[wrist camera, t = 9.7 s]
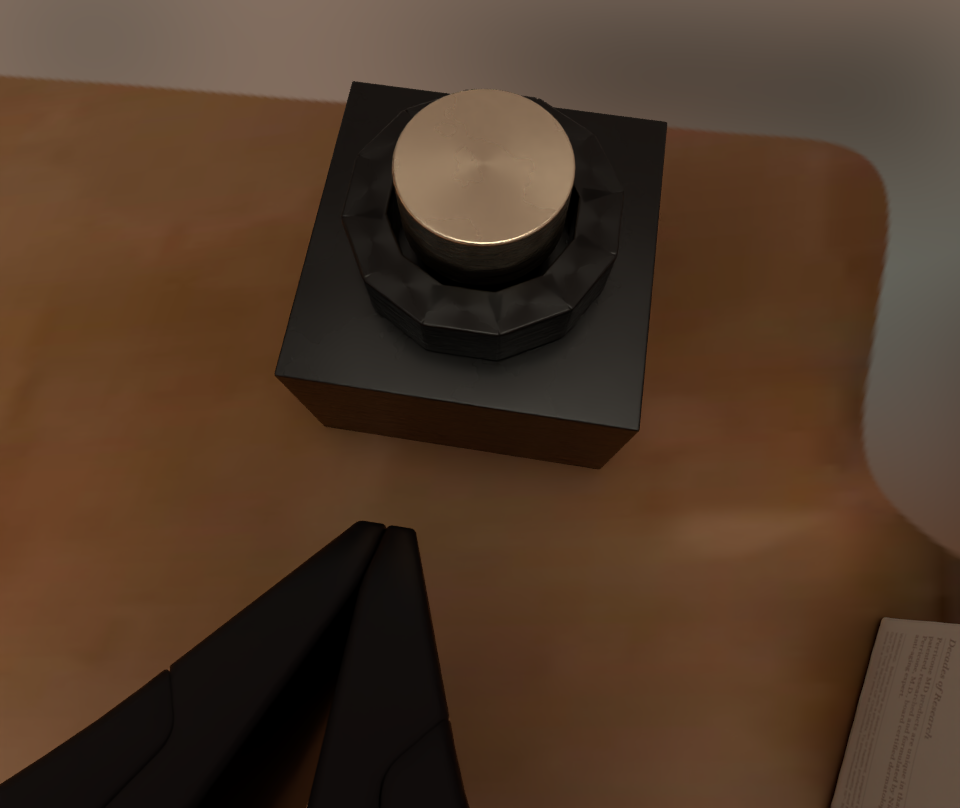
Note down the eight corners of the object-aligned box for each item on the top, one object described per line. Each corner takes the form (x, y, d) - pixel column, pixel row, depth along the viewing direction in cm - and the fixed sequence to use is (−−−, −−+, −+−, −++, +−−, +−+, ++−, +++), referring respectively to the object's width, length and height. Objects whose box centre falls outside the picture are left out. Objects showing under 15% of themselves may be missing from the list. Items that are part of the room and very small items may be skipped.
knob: (554, 297, 16) (564, 257, 14) (387, 273, 16) (373, 230, 14) (573, 154, 17) (585, 99, 15) (418, 134, 17) (410, 77, 16)
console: (600, 469, 22) (658, 413, 15) (323, 426, 22) (249, 351, 15) (626, 223, 25) (686, 75, 18) (379, 189, 25) (339, 31, 18)
